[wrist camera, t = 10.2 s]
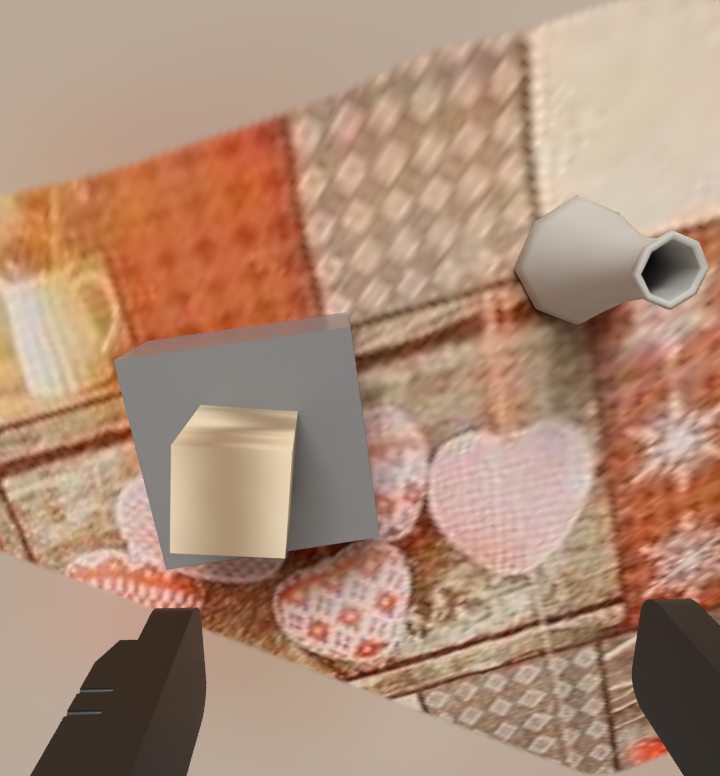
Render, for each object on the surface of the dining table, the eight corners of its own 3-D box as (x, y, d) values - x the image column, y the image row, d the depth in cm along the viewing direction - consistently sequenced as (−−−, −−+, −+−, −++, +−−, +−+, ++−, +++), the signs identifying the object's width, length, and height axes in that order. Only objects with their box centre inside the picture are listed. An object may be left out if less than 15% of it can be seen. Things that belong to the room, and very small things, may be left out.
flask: (574, 344, 36) (667, 383, 26) (491, 270, 34) (557, 283, 25) (657, 253, 35) (785, 259, 25) (574, 172, 33) (678, 145, 24)
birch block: (297, 411, 30) (291, 452, 24) (291, 499, 31) (285, 558, 25) (200, 404, 29) (170, 445, 24) (198, 494, 31) (169, 552, 25)
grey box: (345, 311, 35) (350, 326, 29) (371, 491, 38) (379, 537, 32) (148, 339, 34) (113, 360, 29) (190, 518, 37) (166, 569, 32)
